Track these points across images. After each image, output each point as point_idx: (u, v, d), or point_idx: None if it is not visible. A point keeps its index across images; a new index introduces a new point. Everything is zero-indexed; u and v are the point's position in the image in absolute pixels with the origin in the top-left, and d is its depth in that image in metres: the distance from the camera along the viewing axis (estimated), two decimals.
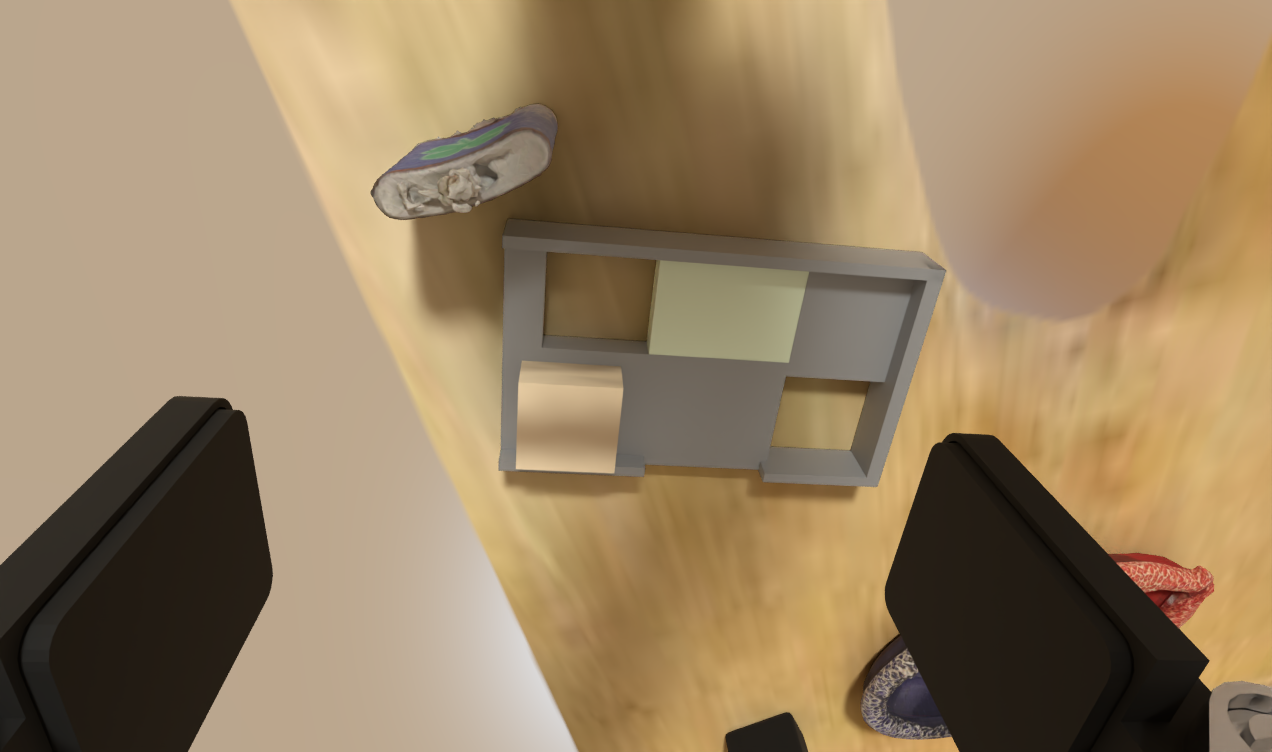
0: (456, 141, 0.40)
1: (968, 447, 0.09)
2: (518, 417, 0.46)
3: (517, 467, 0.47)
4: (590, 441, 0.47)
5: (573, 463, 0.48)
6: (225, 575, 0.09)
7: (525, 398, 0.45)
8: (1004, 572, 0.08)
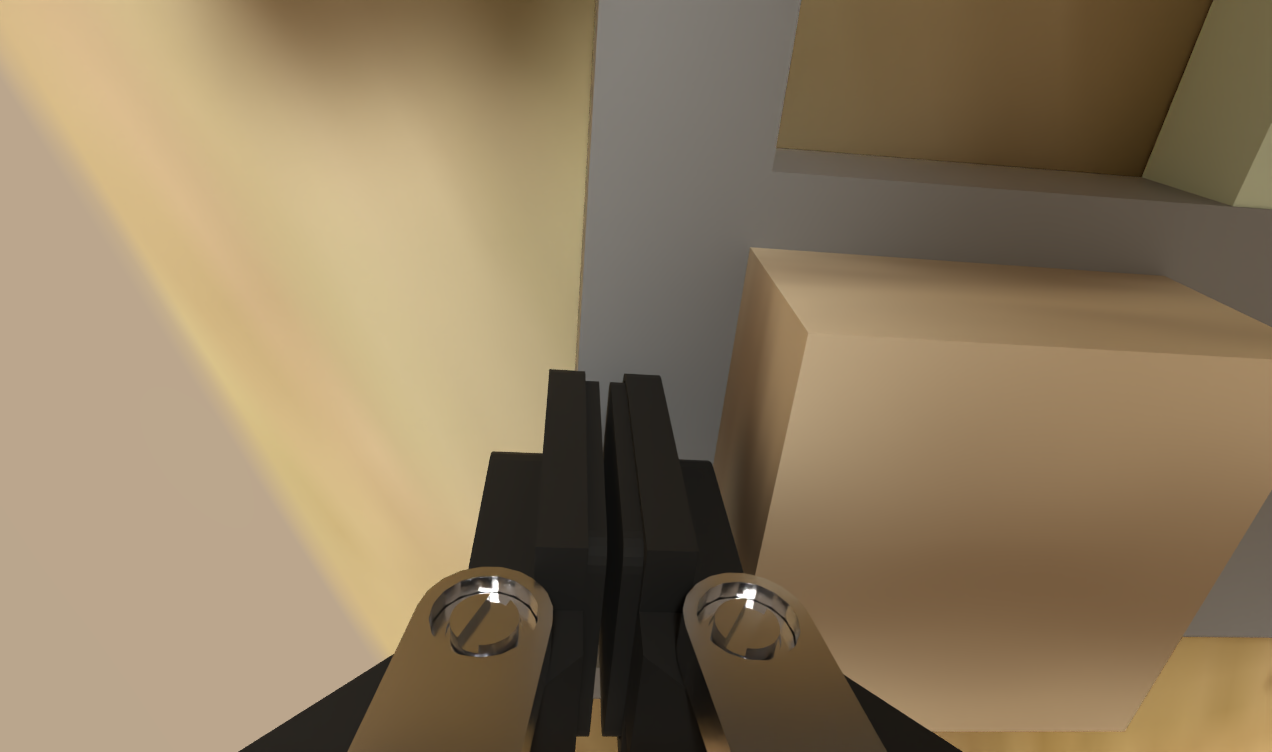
0: None
1: (628, 384, 0.10)
2: (772, 519, 0.09)
3: None
4: (1081, 613, 0.10)
5: (971, 702, 0.11)
6: None
7: (825, 422, 0.08)
8: (613, 491, 0.09)
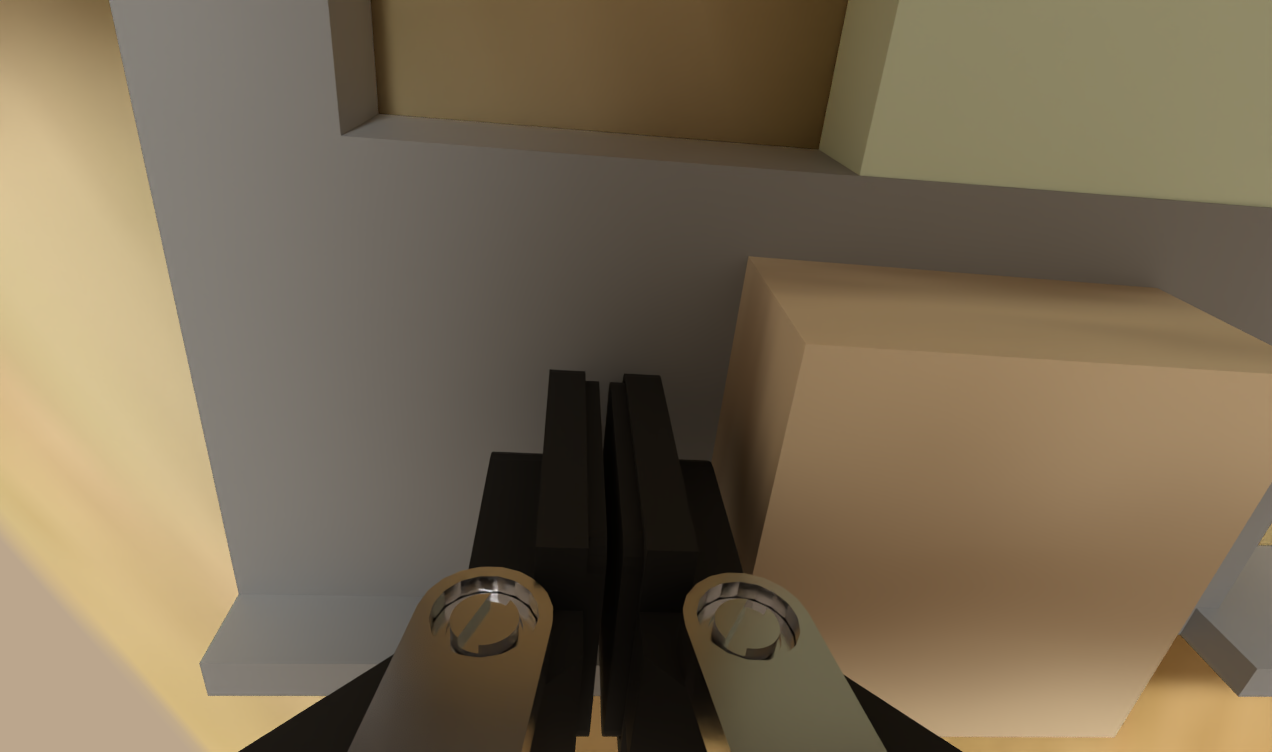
0: None
1: (627, 384, 0.10)
2: (769, 526, 0.09)
3: None
4: (1072, 621, 0.10)
5: (963, 707, 0.11)
6: None
7: (821, 431, 0.08)
8: (613, 491, 0.09)
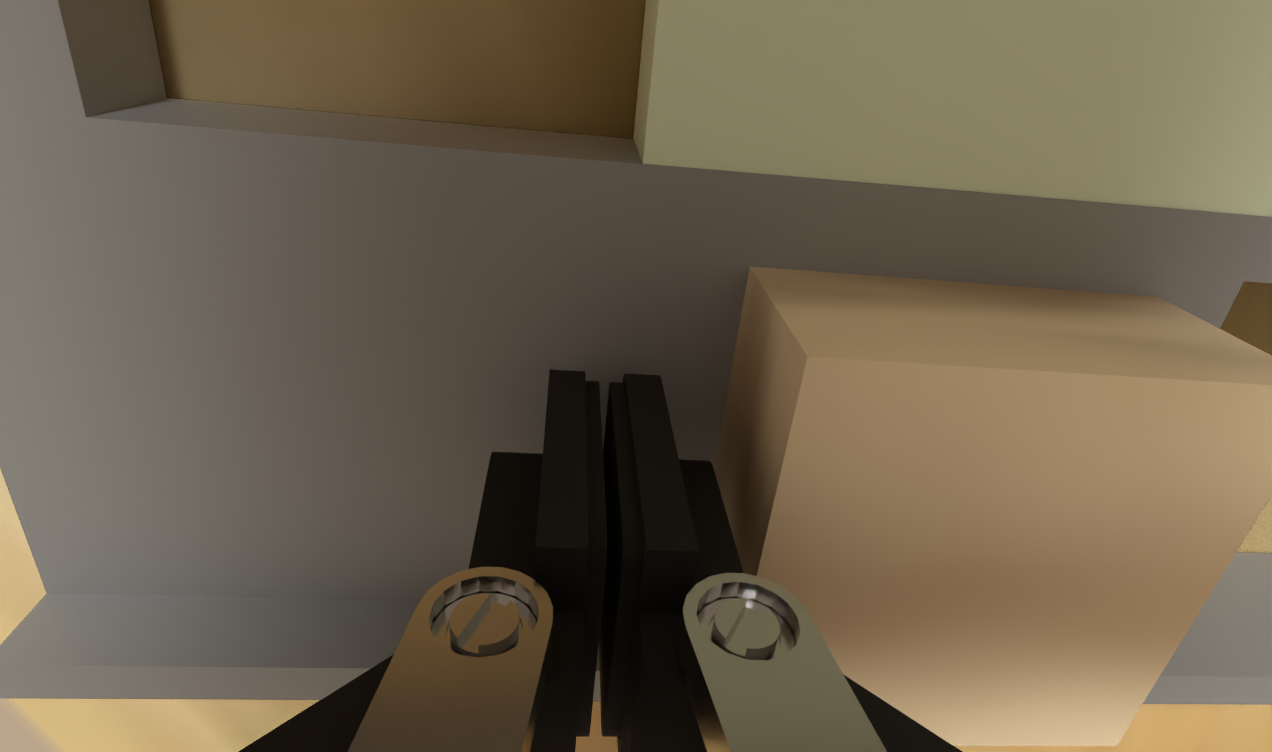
0: None
1: (627, 384, 0.10)
2: (770, 537, 0.09)
3: None
4: (1073, 630, 0.10)
5: (964, 716, 0.11)
6: None
7: (824, 442, 0.08)
8: (613, 491, 0.09)
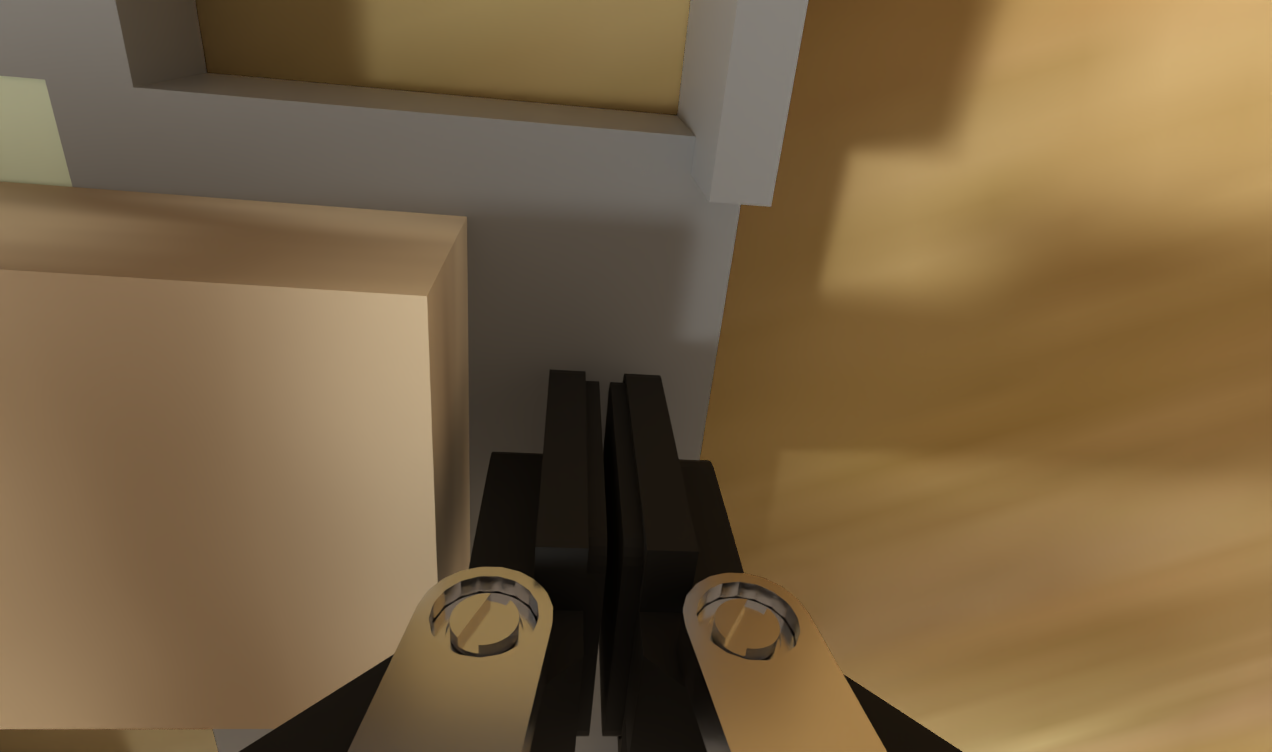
0: None
1: (628, 384, 0.10)
2: (139, 725, 0.10)
3: None
4: (194, 433, 0.08)
5: (376, 516, 0.08)
6: None
7: (16, 706, 0.09)
8: (613, 491, 0.09)
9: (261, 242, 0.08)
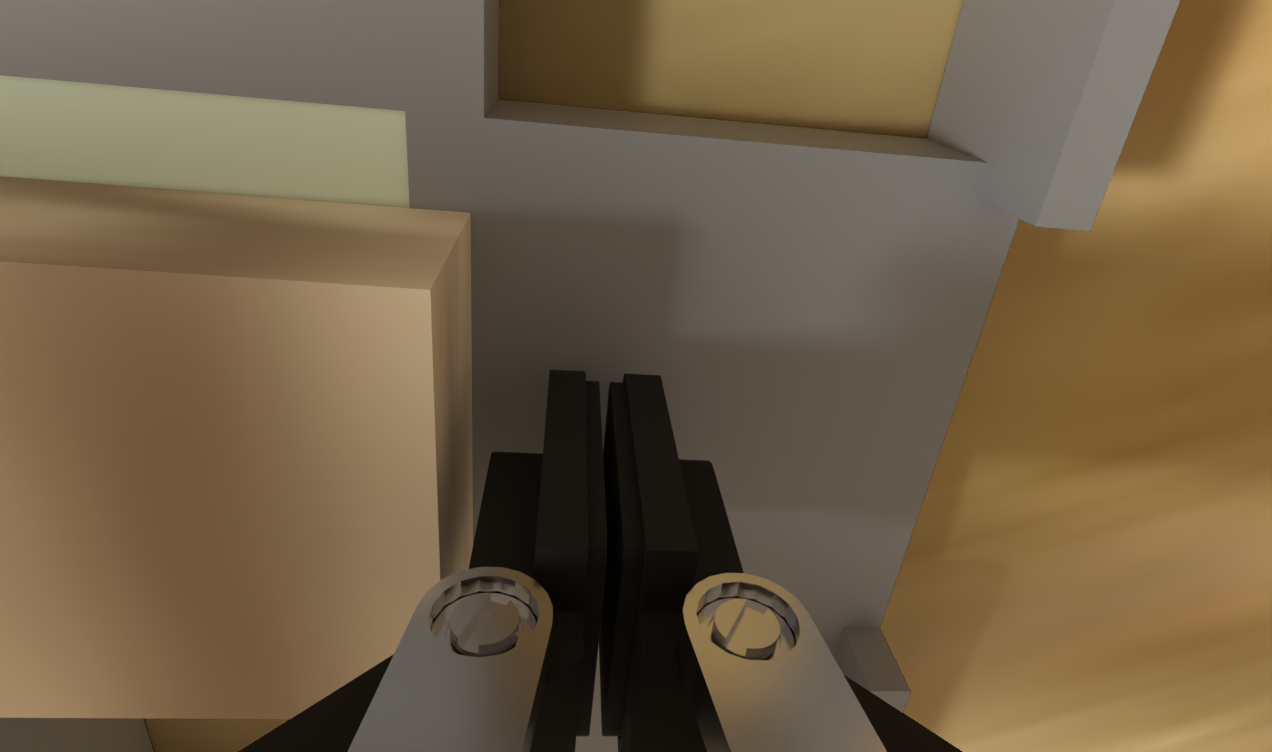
0: None
1: (627, 384, 0.10)
2: (145, 715, 0.10)
3: None
4: (201, 425, 0.08)
5: (379, 508, 0.09)
6: None
7: (24, 695, 0.09)
8: (613, 491, 0.09)
9: (267, 237, 0.08)
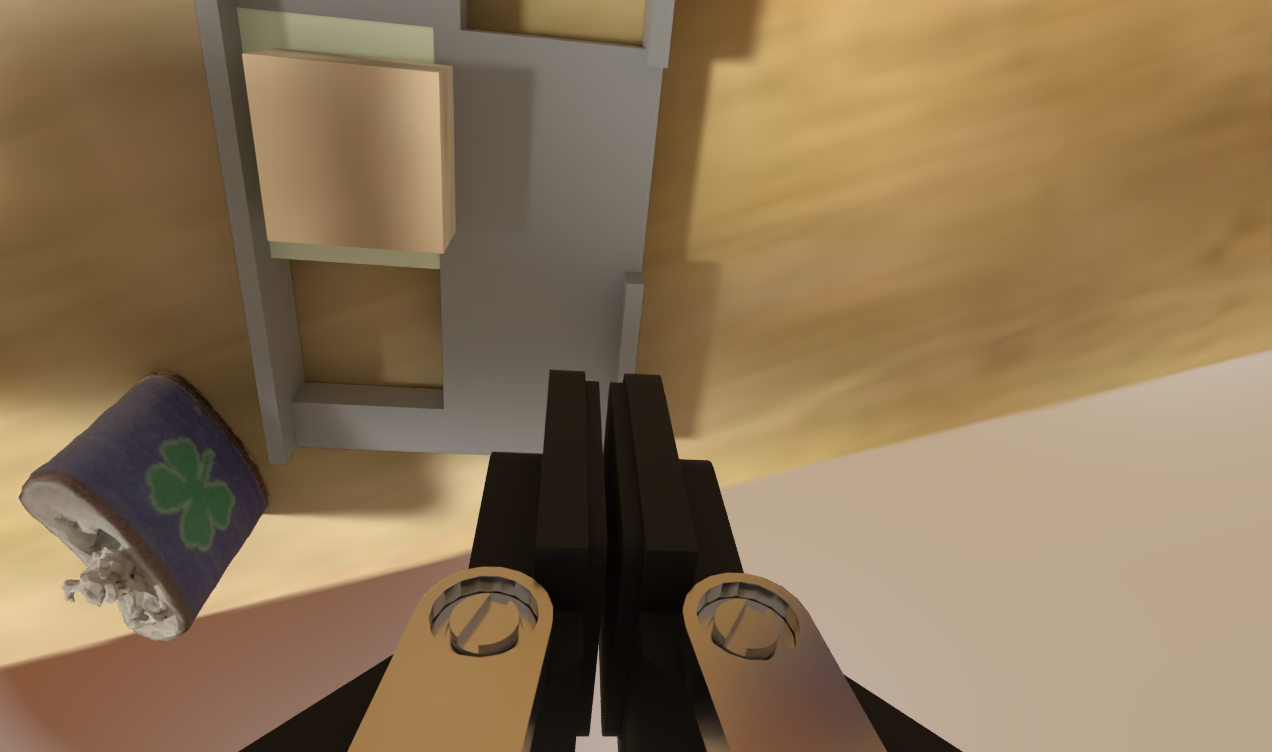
0: None
1: (627, 384, 0.10)
2: (336, 244, 0.27)
3: (439, 250, 0.28)
4: (368, 118, 0.25)
5: (421, 153, 0.26)
6: None
7: (296, 231, 0.27)
8: (613, 491, 0.09)
9: (386, 63, 0.26)
